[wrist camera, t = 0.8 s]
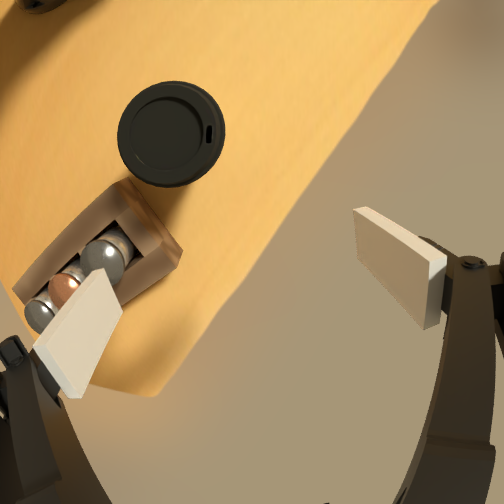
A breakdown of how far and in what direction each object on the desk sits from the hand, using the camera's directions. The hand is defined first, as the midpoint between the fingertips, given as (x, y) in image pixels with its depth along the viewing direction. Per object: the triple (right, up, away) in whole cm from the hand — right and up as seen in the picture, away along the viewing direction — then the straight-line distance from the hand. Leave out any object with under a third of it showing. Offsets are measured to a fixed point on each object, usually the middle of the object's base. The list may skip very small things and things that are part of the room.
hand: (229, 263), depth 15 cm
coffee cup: (-7, +16, +22) cm, 28 cm away
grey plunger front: (-17, +2, +23) cm, 28 cm away
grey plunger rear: (-29, -6, +25) cm, 39 cm away
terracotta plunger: (-23, -2, +24) cm, 33 cm away
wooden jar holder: (-23, -1, +27) cm, 36 cm away
